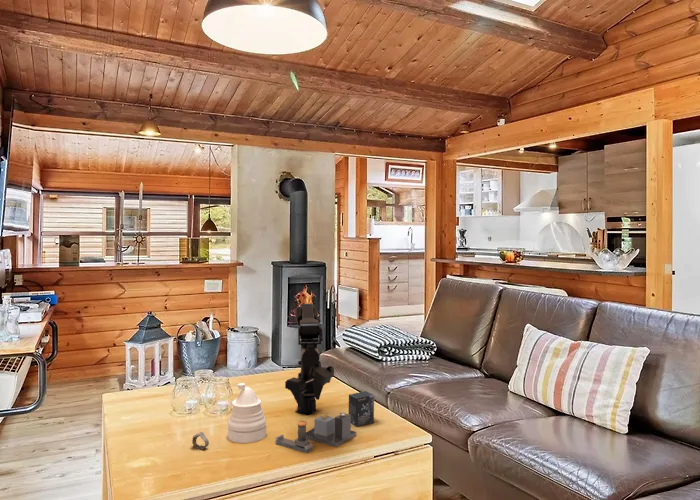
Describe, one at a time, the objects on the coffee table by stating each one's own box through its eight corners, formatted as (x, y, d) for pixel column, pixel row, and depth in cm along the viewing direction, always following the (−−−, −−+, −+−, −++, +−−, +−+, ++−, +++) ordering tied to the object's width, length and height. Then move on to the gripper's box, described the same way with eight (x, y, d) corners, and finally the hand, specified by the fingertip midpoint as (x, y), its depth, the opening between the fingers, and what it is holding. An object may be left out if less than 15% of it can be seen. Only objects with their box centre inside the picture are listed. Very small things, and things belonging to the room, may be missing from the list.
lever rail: (275, 443, 169) (275, 437, 169) (281, 440, 172) (281, 434, 172) (306, 453, 162) (306, 446, 162) (312, 449, 164) (312, 443, 164)
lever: (294, 444, 165) (294, 422, 164) (300, 441, 167) (300, 419, 167) (303, 447, 162) (303, 425, 162) (309, 444, 165) (309, 422, 165)
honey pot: (233, 445, 168) (233, 391, 167) (223, 432, 179) (223, 381, 179) (271, 438, 174) (271, 385, 173) (259, 426, 185) (259, 376, 184)
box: (356, 427, 184) (356, 398, 184) (348, 422, 189) (348, 394, 188) (374, 423, 188) (374, 394, 188) (365, 418, 193) (365, 390, 193)
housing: (314, 432, 176) (314, 414, 176) (323, 427, 180) (323, 410, 180) (326, 435, 173) (326, 417, 173) (334, 430, 177) (334, 413, 177)
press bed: (302, 437, 174) (302, 411, 174) (323, 426, 184) (323, 401, 184) (336, 447, 167) (336, 419, 166) (356, 435, 177) (356, 409, 176)
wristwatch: (197, 444, 169) (197, 429, 169) (211, 448, 166) (211, 432, 166) (189, 448, 166) (189, 432, 166) (203, 452, 163) (202, 436, 163)
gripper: (310, 369, 162) (310, 417, 163) (344, 356, 178) (344, 400, 179) (284, 363, 169) (284, 409, 170) (318, 351, 184) (318, 394, 185)
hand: (309, 403), depth 176 cm, fingers open, 9 cm apart
